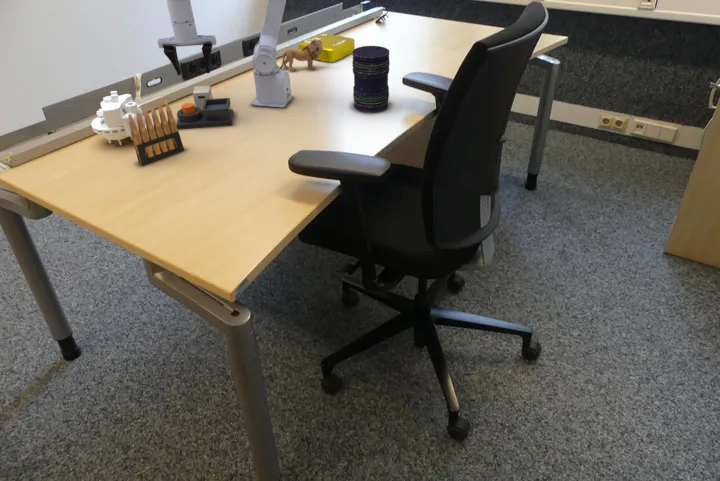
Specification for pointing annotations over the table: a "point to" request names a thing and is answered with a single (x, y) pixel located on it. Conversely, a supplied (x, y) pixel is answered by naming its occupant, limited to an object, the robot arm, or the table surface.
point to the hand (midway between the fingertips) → (194, 73)
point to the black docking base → (202, 119)
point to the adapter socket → (216, 106)
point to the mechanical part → (116, 117)
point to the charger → (201, 95)
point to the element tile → (332, 46)
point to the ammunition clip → (155, 136)
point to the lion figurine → (303, 54)
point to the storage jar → (371, 78)
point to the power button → (188, 108)
